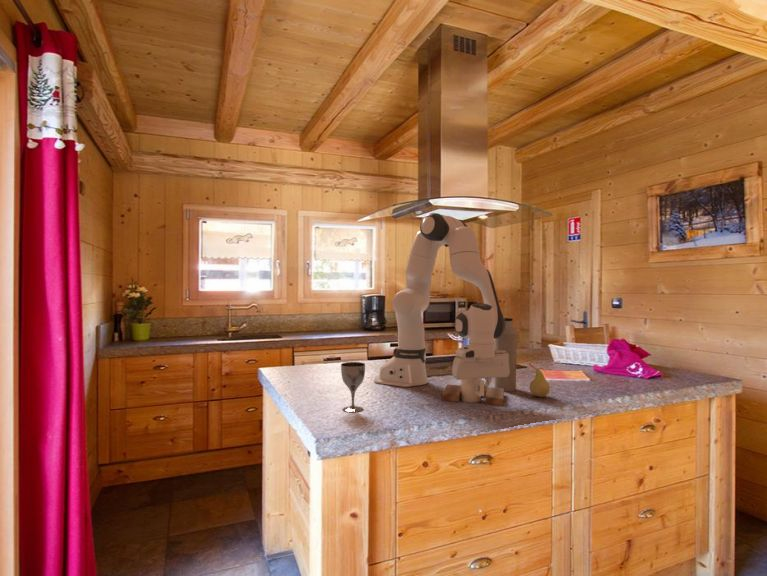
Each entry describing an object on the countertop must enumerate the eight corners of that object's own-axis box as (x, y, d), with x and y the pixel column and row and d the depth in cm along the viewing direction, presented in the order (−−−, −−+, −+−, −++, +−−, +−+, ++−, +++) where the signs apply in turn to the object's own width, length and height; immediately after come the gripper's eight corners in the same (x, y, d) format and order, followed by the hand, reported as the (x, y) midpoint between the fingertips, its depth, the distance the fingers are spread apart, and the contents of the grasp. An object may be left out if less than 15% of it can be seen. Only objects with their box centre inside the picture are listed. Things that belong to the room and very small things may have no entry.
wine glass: (340, 406, 149) (341, 362, 148) (364, 405, 149) (364, 361, 149) (340, 413, 141) (340, 366, 140) (365, 412, 141) (365, 366, 141)
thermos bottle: (514, 387, 176) (515, 317, 175) (516, 392, 168) (517, 319, 168) (494, 385, 178) (495, 316, 177) (495, 390, 170) (496, 318, 169)
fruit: (547, 400, 157) (548, 367, 157) (526, 397, 161) (526, 364, 161) (551, 396, 163) (551, 364, 163) (530, 393, 167) (531, 361, 167)
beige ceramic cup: (456, 397, 160) (456, 372, 160) (472, 395, 163) (472, 371, 163) (473, 405, 150) (473, 379, 150) (490, 403, 152) (490, 378, 152)
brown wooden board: (441, 400, 156) (441, 393, 156) (447, 390, 170) (447, 384, 170) (502, 405, 151) (503, 398, 151) (503, 395, 164) (503, 388, 164)
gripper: (504, 348, 157) (503, 386, 157) (450, 350, 152) (450, 390, 152) (513, 351, 151) (512, 391, 151) (458, 353, 146) (457, 394, 146)
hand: (481, 390), depth 152 cm, fingers closed on beige ceramic cup
